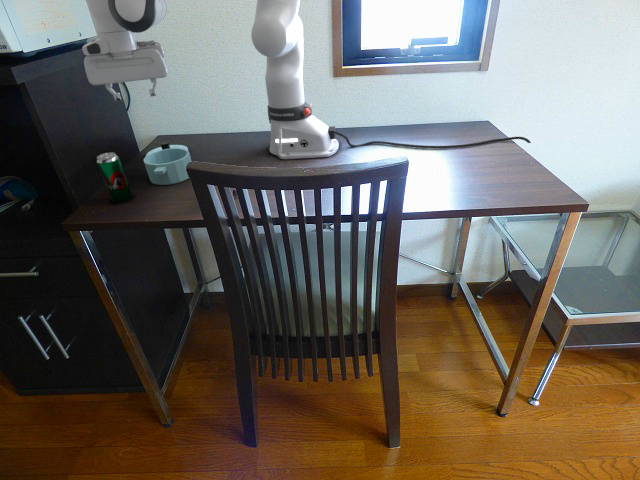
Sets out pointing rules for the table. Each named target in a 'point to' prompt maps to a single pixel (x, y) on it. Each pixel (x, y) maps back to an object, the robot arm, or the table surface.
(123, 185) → the soda can
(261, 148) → the table surface
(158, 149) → the lid
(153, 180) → the pan
